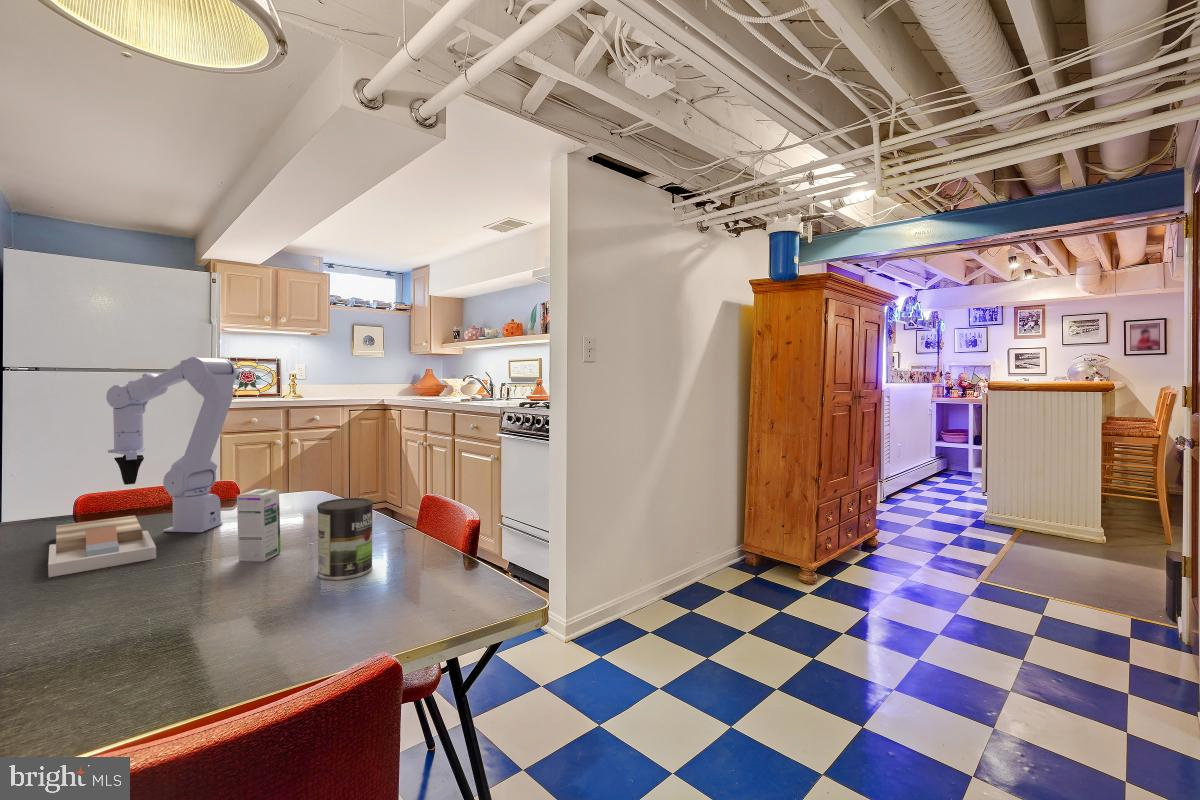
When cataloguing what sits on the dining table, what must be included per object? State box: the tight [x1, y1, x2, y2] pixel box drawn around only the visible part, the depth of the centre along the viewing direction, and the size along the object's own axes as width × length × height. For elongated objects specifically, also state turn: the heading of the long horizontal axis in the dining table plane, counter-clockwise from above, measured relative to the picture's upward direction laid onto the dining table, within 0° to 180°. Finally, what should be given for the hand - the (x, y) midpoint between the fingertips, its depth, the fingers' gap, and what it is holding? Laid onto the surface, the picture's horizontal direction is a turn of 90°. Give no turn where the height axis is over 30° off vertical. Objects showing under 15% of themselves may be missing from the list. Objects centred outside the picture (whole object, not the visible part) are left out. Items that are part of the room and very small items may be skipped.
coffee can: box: [316, 497, 374, 581], centre depth 109 cm, size 10×10×14 cm
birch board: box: [55, 515, 143, 553], centre depth 125 cm, size 16×14×3 cm
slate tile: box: [86, 541, 119, 557], centre depth 113 cm, size 5×5×2 cm
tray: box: [47, 530, 157, 578], centre depth 113 cm, size 16×16×2 cm
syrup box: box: [236, 488, 282, 563], centre depth 115 cm, size 6×6×14 cm
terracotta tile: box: [85, 526, 118, 545], centre depth 117 cm, size 5×5×2 cm
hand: (129, 483), depth 138 cm, fingers closed
